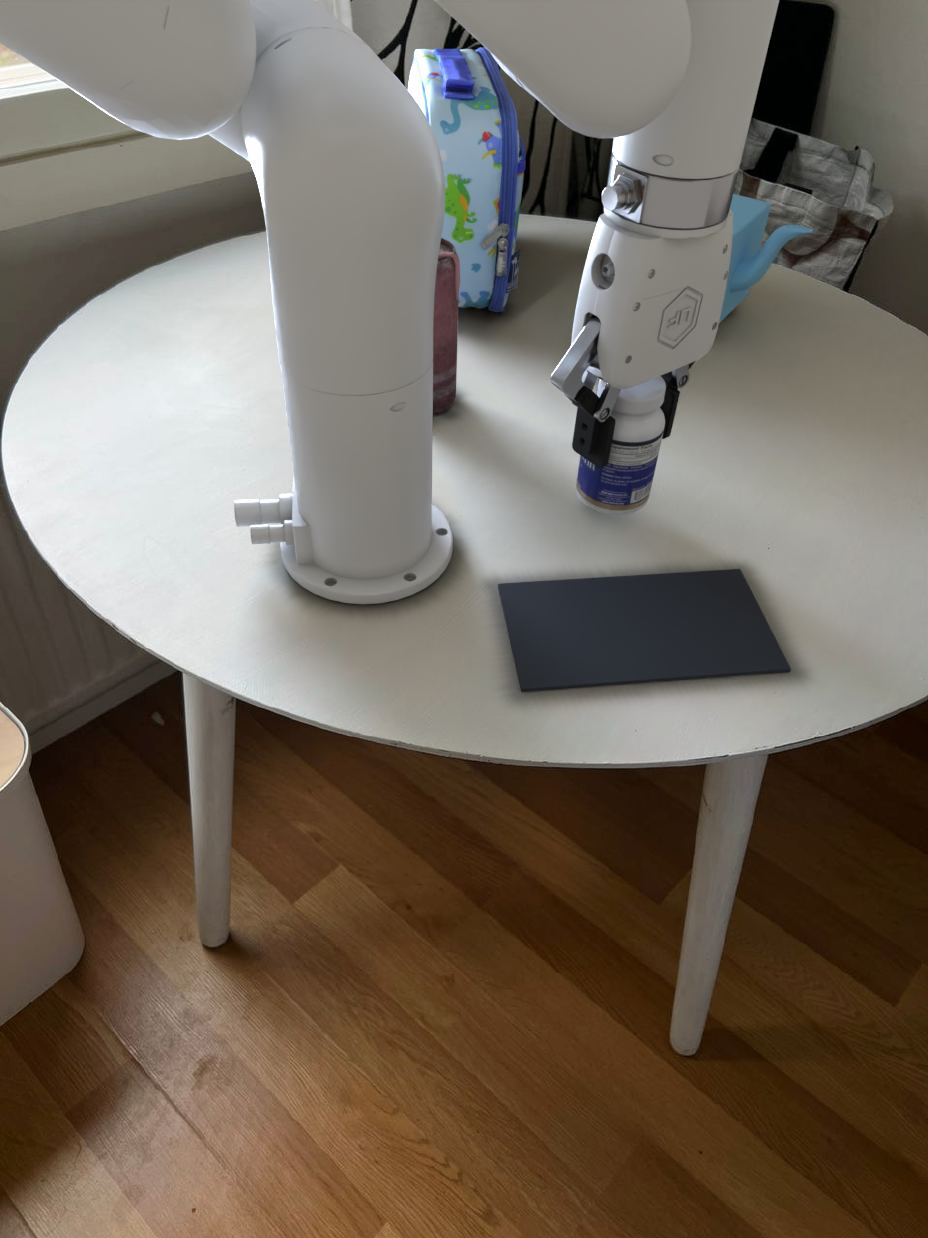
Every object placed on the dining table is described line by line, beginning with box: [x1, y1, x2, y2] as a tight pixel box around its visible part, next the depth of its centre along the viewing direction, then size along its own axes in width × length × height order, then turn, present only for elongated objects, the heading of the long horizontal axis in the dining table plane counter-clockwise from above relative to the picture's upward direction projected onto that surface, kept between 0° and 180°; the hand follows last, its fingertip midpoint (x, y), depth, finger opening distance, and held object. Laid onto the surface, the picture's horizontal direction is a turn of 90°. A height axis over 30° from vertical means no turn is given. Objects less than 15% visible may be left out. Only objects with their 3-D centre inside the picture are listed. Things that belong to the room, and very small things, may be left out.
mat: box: [497, 568, 792, 693], centre depth 63 cm, size 18×10×1 cm, turn 97°
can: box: [433, 238, 460, 418], centre depth 78 cm, size 6×6×14 cm
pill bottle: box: [575, 376, 666, 516], centre depth 68 cm, size 6×6×10 cm
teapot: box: [719, 193, 814, 324], centre depth 91 cm, size 18×16×13 cm
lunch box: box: [407, 46, 527, 313], centre depth 94 cm, size 26×11×21 cm, turn 6°
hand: (621, 441), depth 68 cm, fingers closed on pill bottle, 5 cm apart
